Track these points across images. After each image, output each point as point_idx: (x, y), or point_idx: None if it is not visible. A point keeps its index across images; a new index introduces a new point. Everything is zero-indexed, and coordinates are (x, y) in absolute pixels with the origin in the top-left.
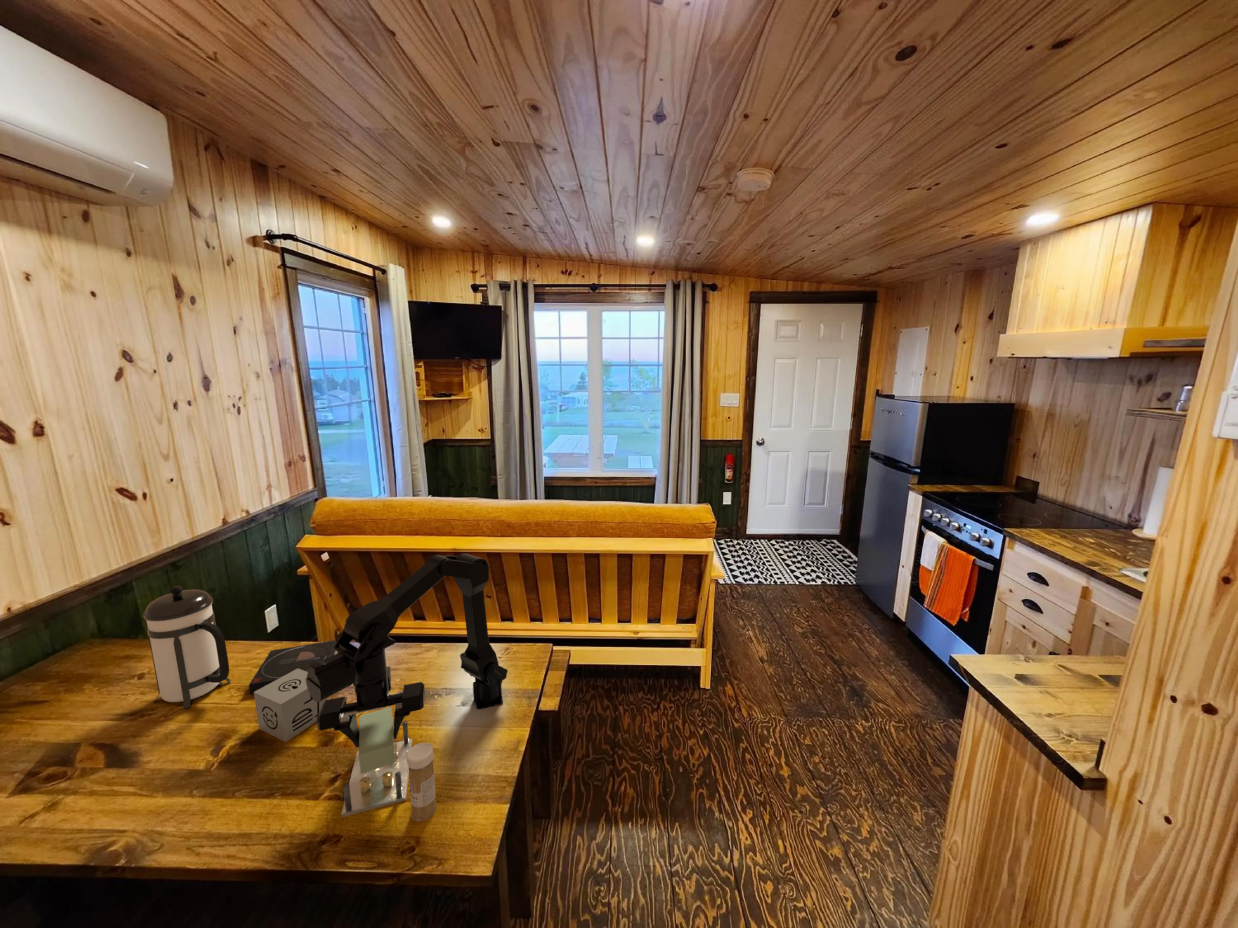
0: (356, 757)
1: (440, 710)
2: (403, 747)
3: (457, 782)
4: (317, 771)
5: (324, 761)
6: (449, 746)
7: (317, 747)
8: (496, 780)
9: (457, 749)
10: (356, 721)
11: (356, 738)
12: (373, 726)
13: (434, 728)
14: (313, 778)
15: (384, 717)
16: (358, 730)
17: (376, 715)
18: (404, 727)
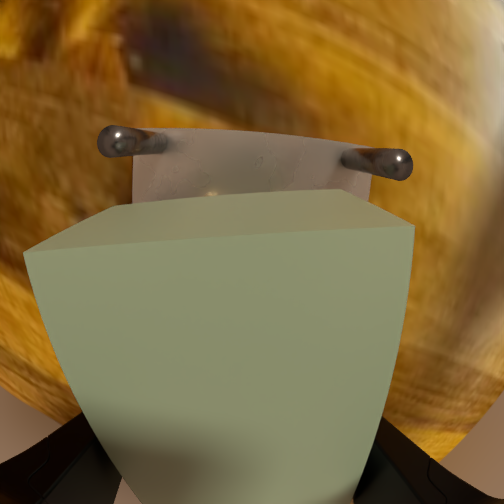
0: (136, 170)
1: (461, 31)
2: (337, 187)
3: (440, 385)
4: (28, 184)
5: (38, 139)
6: (472, 247)
7: (18, 63)
8: (491, 391)
9: (484, 271)
10: (56, 498)
11: (117, 487)
12: (210, 459)
13: (448, 118)
14: (26, 214)
15: (313, 401)
16: (97, 448)
17: (217, 338)
18: (383, 176)
